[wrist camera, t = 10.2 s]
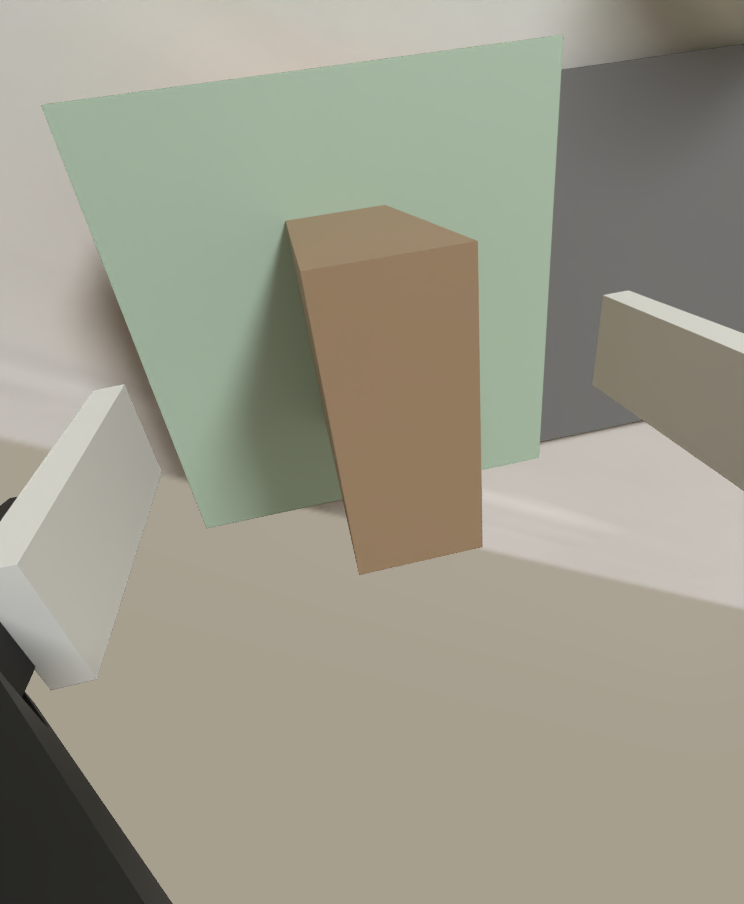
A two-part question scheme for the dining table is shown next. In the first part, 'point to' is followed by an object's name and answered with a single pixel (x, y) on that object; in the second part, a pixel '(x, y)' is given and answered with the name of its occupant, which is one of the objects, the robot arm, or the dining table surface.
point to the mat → (641, 211)
